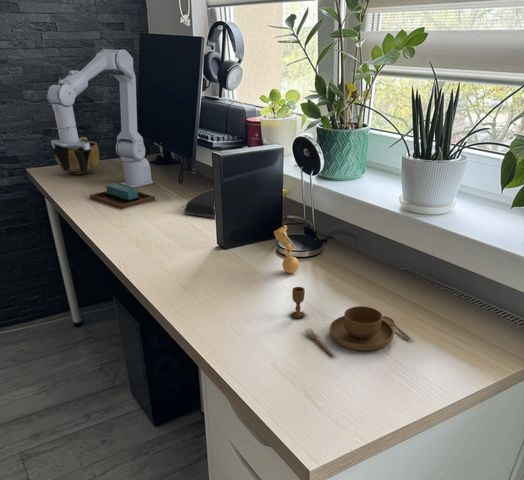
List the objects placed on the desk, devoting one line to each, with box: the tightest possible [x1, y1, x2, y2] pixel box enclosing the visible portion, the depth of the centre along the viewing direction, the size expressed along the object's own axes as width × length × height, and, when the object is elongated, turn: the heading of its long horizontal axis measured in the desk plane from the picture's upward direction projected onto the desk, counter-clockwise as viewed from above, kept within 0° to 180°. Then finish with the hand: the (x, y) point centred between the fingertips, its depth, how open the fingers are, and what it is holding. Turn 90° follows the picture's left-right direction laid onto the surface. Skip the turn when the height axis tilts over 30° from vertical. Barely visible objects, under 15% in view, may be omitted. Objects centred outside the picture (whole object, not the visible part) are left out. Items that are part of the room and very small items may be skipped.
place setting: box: [290, 286, 411, 357], centre depth 100 cm, size 18×20×6 cm
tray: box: [89, 190, 156, 210], centre depth 177 cm, size 14×19×2 cm
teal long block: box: [105, 183, 139, 203], centre depth 176 cm, size 14×4×4 cm, turn 47°
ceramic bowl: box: [52, 136, 100, 176], centre depth 207 cm, size 22×17×15 cm
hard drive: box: [183, 188, 216, 219], centre depth 167 cm, size 13×19×4 cm
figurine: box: [273, 224, 300, 274], centre depth 121 cm, size 8×6×12 cm
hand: (75, 171), depth 172 cm, fingers open, 7 cm apart
